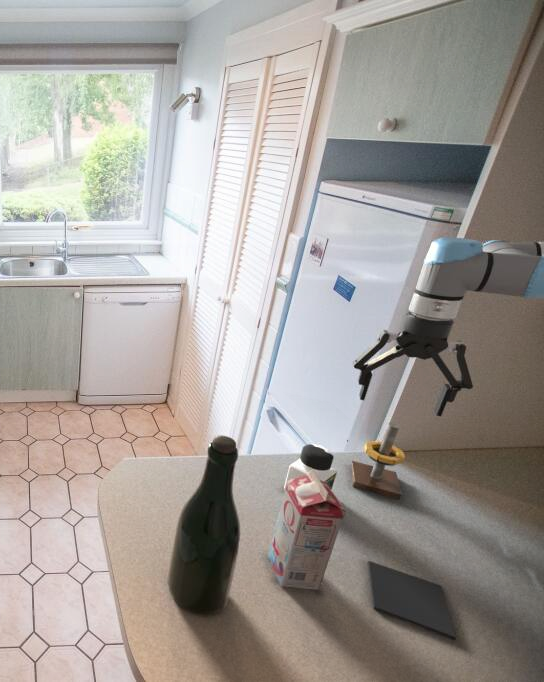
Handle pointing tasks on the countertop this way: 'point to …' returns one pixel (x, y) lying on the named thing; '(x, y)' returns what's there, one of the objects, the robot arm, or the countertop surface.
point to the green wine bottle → (207, 536)
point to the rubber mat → (410, 599)
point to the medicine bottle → (313, 464)
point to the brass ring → (386, 459)
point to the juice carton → (305, 532)
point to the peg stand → (378, 469)
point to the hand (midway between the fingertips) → (398, 405)
